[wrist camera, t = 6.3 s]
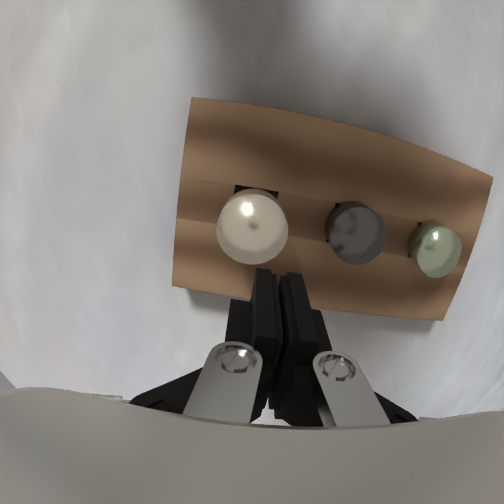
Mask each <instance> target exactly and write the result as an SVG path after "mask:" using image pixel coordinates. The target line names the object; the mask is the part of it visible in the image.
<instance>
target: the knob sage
mask: <svg viewBox="0 0 504 504" xmlns="http://www.w3.org/2000/svg"><path fill="white" fill-rule="evenodd" d="M408 252H409V255H410V258H411V259H412V261H413V262H414V263H415V264H416V265H417V266H418V267H419V268H420V269H421V270H422V271H423V272H424V273H425V274H426V275H427V276H429V277H432V278H440V277H443V276H445V275H447V274H448V273H450V272H451V271H452V270H453V269H454V267H455V266H456V265H457V263H458V261H459V258H460V255H461V241H460V238H459V237H458V235H457V234H456V233H455V232H454V231H452V230H450V229H449V228H447V227H446V226H444V225H443V224H441V223H439V222H437V221H434V220H430V221H426V222H423V223H421V222H418V226H417V228H416V229H415V230H414V231H413V233H412V235H411V237H410V240H409V244H408Z"/></svg>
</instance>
